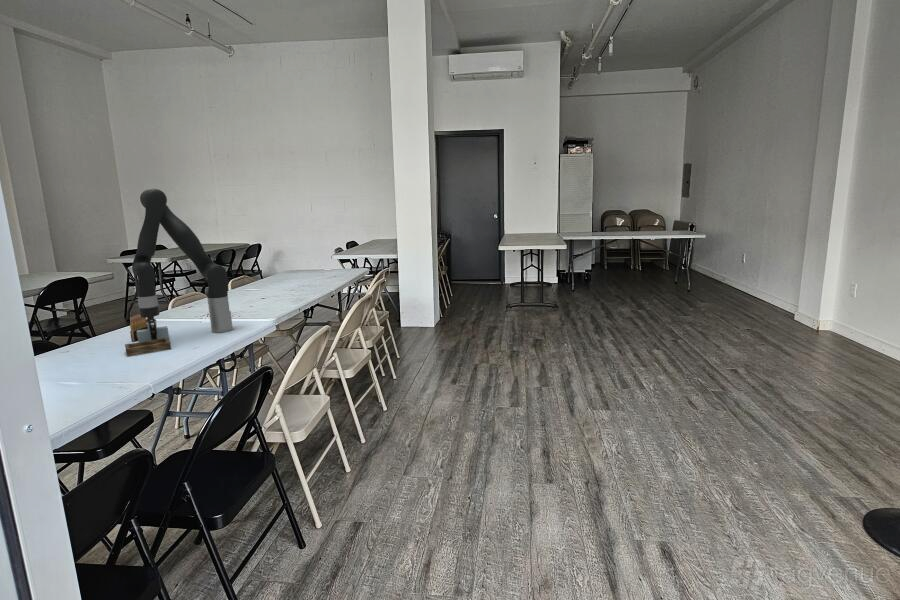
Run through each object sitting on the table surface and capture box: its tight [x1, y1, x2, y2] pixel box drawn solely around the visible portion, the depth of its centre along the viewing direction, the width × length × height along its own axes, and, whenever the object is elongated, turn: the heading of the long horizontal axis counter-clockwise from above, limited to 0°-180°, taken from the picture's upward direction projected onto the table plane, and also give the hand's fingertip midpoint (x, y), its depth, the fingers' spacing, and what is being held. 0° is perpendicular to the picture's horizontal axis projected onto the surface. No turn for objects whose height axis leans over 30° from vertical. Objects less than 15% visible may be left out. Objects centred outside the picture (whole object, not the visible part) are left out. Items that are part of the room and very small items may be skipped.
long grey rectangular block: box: [137, 325, 171, 343], centre depth 232 cm, size 12×4×7 cm, turn 125°
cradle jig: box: [124, 338, 172, 357], centre depth 222 cm, size 16×9×3 cm, turn 125°
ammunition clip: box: [129, 313, 147, 343], centre depth 241 cm, size 11×2×12 cm, turn 174°
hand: (154, 342), depth 232 cm, fingers closed on long grey rectangular block, 4 cm apart
